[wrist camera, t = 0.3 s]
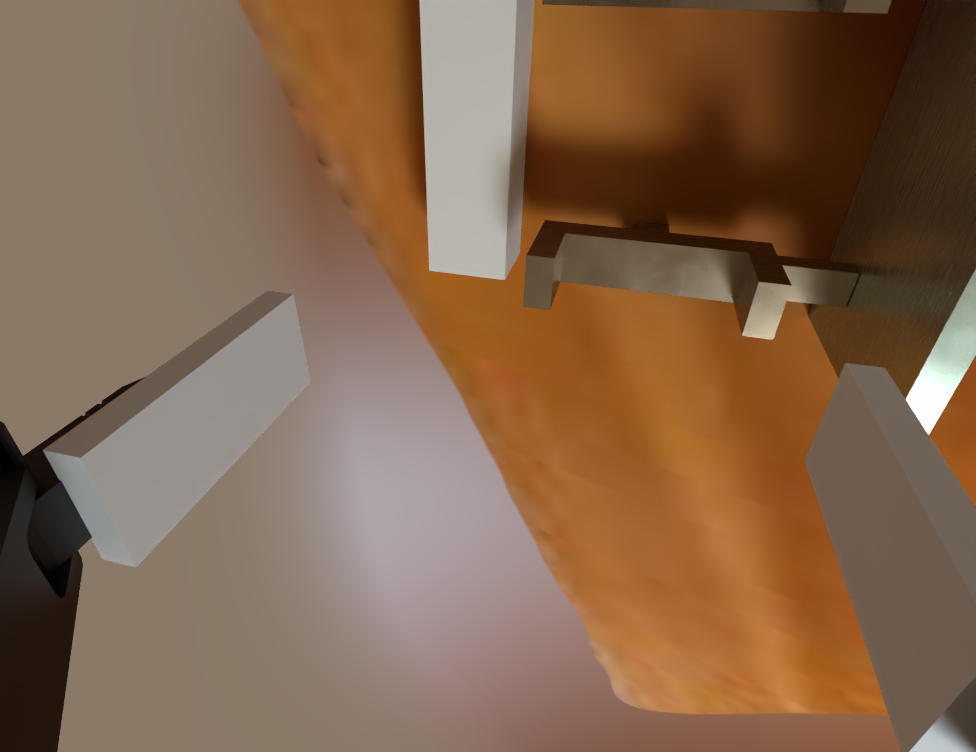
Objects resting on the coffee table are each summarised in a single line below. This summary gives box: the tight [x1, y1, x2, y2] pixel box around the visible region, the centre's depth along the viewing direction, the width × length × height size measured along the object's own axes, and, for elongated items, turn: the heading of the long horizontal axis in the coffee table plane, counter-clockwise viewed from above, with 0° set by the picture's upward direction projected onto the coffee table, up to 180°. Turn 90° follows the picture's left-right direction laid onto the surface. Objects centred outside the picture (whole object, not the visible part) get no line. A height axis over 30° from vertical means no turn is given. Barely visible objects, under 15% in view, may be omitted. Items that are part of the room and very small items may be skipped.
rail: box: [419, 0, 534, 280], centre depth 33 cm, size 18×5×5 cm, turn 179°
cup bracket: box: [523, 0, 976, 435], centre depth 26 cm, size 22×19×14 cm
